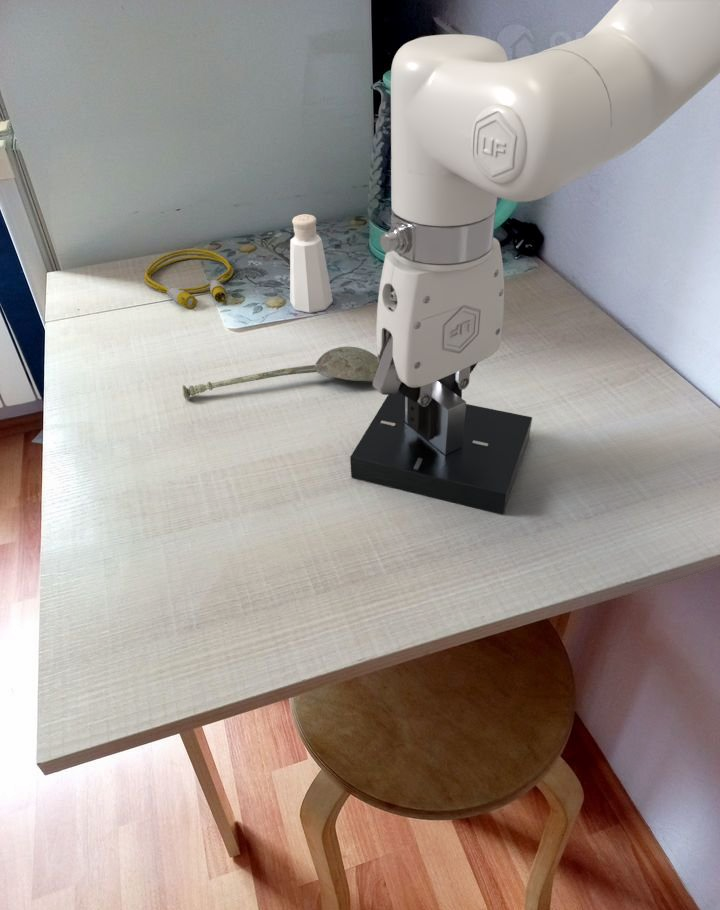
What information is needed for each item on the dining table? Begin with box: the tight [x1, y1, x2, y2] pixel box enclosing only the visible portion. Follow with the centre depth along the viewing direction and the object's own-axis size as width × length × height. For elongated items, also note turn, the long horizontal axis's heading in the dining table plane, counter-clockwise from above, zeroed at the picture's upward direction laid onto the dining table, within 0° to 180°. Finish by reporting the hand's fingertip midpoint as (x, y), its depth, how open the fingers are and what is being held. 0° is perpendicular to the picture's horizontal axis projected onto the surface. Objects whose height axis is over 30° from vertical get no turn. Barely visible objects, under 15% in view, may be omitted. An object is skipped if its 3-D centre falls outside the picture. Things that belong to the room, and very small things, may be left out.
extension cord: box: [144, 248, 235, 310], centre depth 94 cm, size 12×16×2 cm
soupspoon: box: [181, 346, 379, 402], centre depth 75 cm, size 22×3×7 cm
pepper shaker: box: [289, 213, 334, 314], centre depth 86 cm, size 5×5×11 cm
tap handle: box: [405, 381, 467, 455], centre depth 63 cm, size 6×2×5 cm, turn 34°
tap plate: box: [349, 394, 533, 515], centre depth 65 cm, size 14×11×3 cm
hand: (433, 425), depth 64 cm, fingers closed on tap handle, 2 cm apart
